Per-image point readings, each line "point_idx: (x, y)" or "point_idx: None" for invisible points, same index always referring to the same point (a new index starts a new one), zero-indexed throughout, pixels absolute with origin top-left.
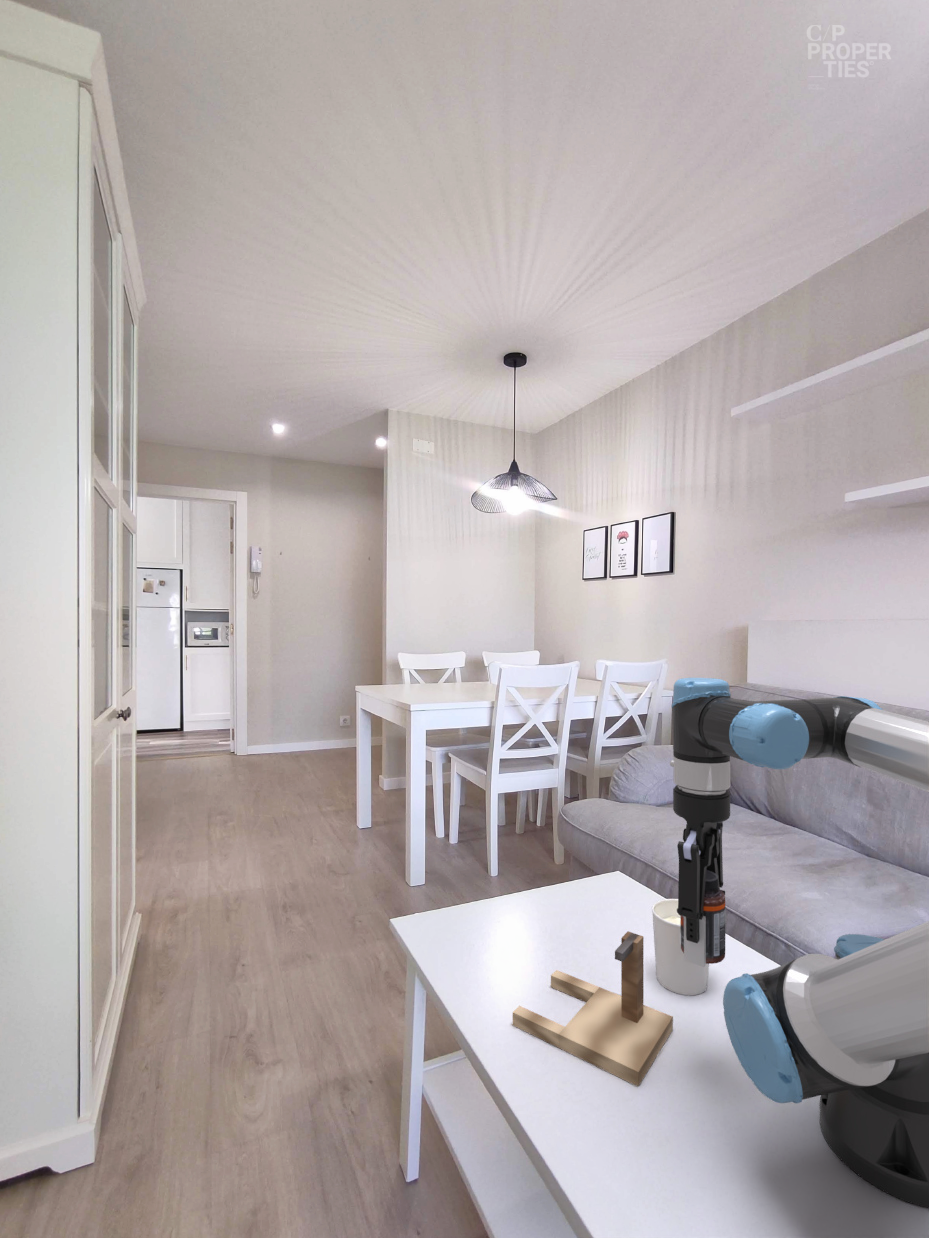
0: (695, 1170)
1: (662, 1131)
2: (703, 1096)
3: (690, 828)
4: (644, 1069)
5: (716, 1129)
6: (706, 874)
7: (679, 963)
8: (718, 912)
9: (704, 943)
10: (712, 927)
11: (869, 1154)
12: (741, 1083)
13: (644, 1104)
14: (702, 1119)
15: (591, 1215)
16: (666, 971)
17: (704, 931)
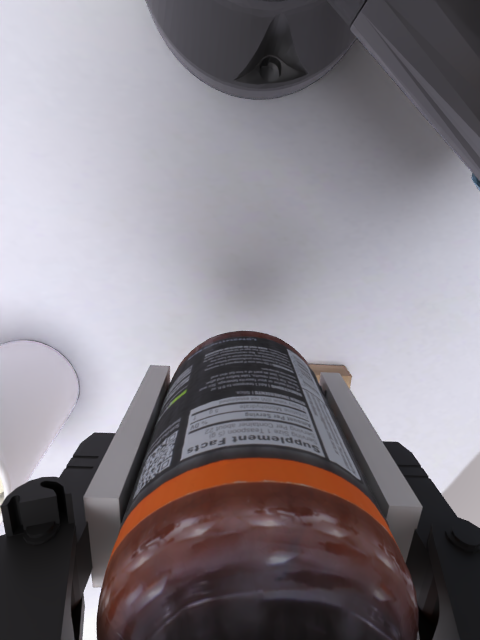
0: (457, 259)
1: (410, 314)
2: (312, 280)
3: None
4: (322, 369)
5: (370, 249)
6: None
7: (52, 408)
8: (338, 468)
9: (364, 418)
10: (340, 434)
11: None
12: (249, 233)
13: (373, 348)
14: (360, 271)
15: None
16: (66, 417)
17: (381, 452)
